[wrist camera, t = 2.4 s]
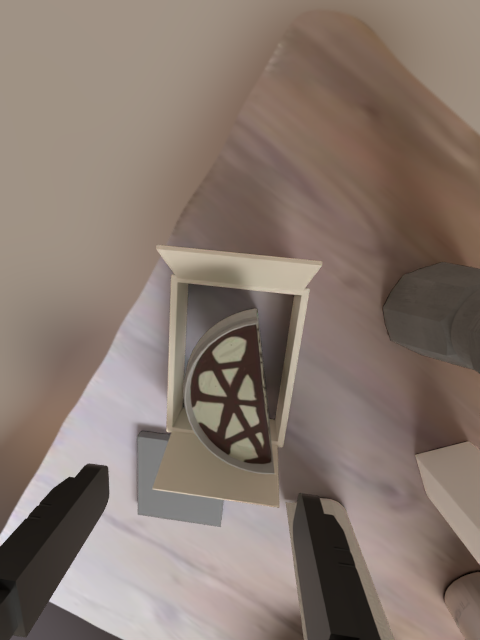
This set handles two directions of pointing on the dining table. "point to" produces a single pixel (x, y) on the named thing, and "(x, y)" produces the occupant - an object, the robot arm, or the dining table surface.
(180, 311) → the carton
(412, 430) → the dining table surface
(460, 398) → the dining table surface
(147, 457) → the trivet
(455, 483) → the milk
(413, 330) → the coffeepot
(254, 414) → the food container
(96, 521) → the robot arm
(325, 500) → the paper towel roll
